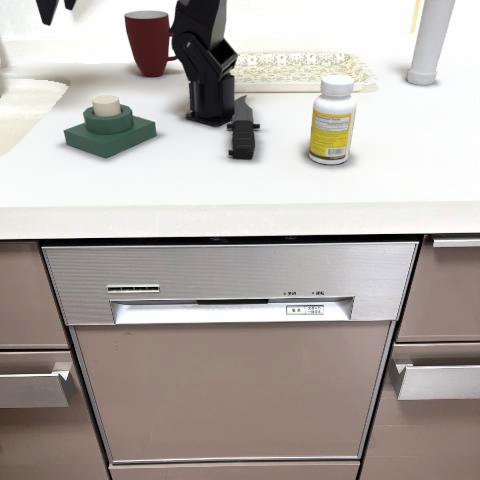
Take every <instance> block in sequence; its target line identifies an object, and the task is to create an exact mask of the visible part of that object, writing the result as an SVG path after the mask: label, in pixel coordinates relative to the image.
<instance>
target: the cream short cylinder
mask: <svg viewBox="0 0 480 480" xmlns="http://www.w3.org/2000/svg"><path fill="white" fill-rule="evenodd" d="M91 102H92V103H91V104H92V106H93V109H94V114H95V115H96V116H101V117H108V116H115V115H118V114H121V109H120V104H121V102H120V98H119V96H117V95H113V94H101V95H97V96H94V97H92V99H91Z"/></svg>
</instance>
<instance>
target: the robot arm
mask: <svg viewBox="0 0 480 480" xmlns="http://www.w3.org/2000/svg"><path fill="white" fill-rule="evenodd" d="M77 2H78V0H63V3H64V9H65V10H67V11H73V10H74V8H75V6H76V4H77ZM35 3H36V6H37V10H38V13H39V17H40V20H41V23H42V25H44V26H48V27H50V26H52V22H53V20H54V18H55V15H56V11H57V9H58V6H59V3H60V0H35ZM227 3H228V0H176V3H175V7H174V16H173V17H174V18H173V21H172V24H171V25H170V29H169V31H168V32H169V33H173V35H172V37H171V42H170V44H171V49H172V51H173V53H174V56H176V57H177V60H178V61H179V62H180V63H181V65H182V68H183V71H184V73H185V77H186V78H187V81H188V95H189V97H188V98H189V108H190V109H189V110H190V112H188V113H186V114H185V118H186V119H189V120H192V121H196V122H199V123H203V124H207V125H210V126H214V127H219V126H221V125H224V124H226V123H228V122H229V121H232V115H234V114H235V100H236V99H235V98H236V97H235V94H236V93H235V92H236V89H235V88H236V82H235V81H236V79H235V77H236V76H235V75H234V74H231V71H232V70H234V69H235V67H236V65H237V61H238V58H239V55H238V53H237V52H236V50H235V49H234V48H233V47H232V46H231V44H230V43H229V42H228V41H227V39H226V38H225V32H226V25H227V8H228V7H227V6H228V4H227Z"/></svg>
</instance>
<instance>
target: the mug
mask: <svg viewBox="0 0 480 480" xmlns="http://www.w3.org/2000/svg"><path fill="white" fill-rule="evenodd" d="M123 17H124V26H125V32H126V36H127V39H128V40H127V41H128V43H129V46H130V49H131V55H132V58H133V60H134V63H135V65H136V66H137V68H138V69H139V71H140V73H141V75H142V76H144V77H150V78H153V77H160V76H162V75H163V74H164V72H165V70H166V67H167V64H168V62H175V61H177V60H178V59H177V57H176V55H172V56H170V54H169V53H170V39H171V38H172V35H173V33H169V32H168V31H169V29H170V28H171V25H170V16H169V13H168V12H166V11H162V10H134V11H130V12H126V13H124V15H123Z"/></svg>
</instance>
